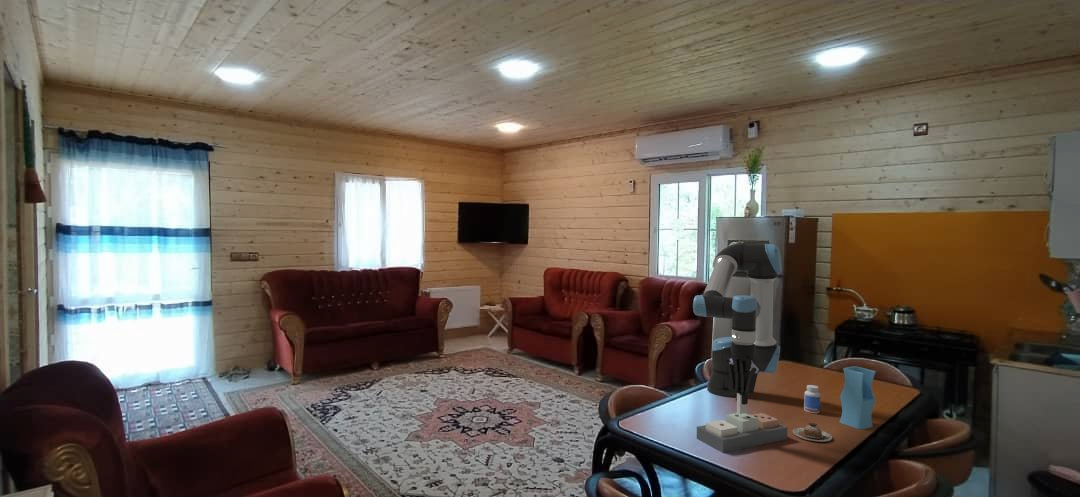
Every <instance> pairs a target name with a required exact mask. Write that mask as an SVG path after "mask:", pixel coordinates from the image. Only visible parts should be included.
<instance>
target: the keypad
mask: <svg viewBox="0 0 1080 497" xmlns="http://www.w3.org/2000/svg"><path fill="white" fill-rule="evenodd" d="M725 421H726V422H727V420H725ZM696 439H697V440H699V441H701V442H702V443H704V444H706V445H708V446H709V447H712V448H713V449H715V450H717V451H719V452H721V453H728V452H732V451H737V450H742V449H747V448H751V447H757V446H761V445H765V444H770V443H774V442H780V441H786V440H788V426H786V425H783V424H782V423H778V426H775V427H770V428H765V429H762V428H760V427H758V430H755V431H750V432H744V433H742V432H739V431H738V434H734V435H729V436H724V437H720V436H718V435H716V434H714V433H712V432H710V431H708V430H706V424H704V425H699V426H696Z"/></svg>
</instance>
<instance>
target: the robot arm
mask: <svg viewBox="0 0 1080 497" xmlns="http://www.w3.org/2000/svg"><path fill="white" fill-rule="evenodd" d="M782 271H783V266H782V255H781V251H780V247H779V246H778V245H776V244H774V243H773V244H770V243H741V242H740V243H734V244H731V245H728V246H726V247H725V248H723V249H722V250H721V251H720V252H718V253H717V254H716V256H715V257H714V260H713V261H712V271H711V274H710V276H709V279H708V281H707V285H706V287H705V289H704V292H703V294H700V295H699V294H697V295H695V296H694V298H693V303H692V309H693V310H692V311H693V313H694V315H695V316H698V317H704V318H719V319H729V320H731V336H725V337H719V338H718V337H717V338H715V339H714V340H712V341H713V342H712V347H711V351H712V352H711V361H712V362H711V374H710V377H709V380H708V382H707V386H706V387H707V388H706V389H707V391H708V392H709V393H711V394H712V395H713V394H714V395H718V396H722V397H728V398H729V397H734V398H735V402H736V413H738V414H744V413H746V414H747V405H748V402H749V400H748V398H749V395H752V394H754V391H755V387H756V382H757V379H758V375H759V373H763V374H775V372H776V371H777V368H778V363H779V359H780V352H781V346H780V345H778V344H777V340H776V339H775V338H774V337H773V334H774V333H773V332H774V329H773V328H774V327H773V326H774V325H773V324H774V282H775V280H777V279H778V275H780V274H782ZM736 272H742V273H743V272H744V273H746V278H748V279H749V281H750V295H743V294H741V295H739V294H738V295H734V296H732V297H730V296H729V297H727V293H728V290H729V286H730V284H731V281H732V278H733V275H734V274H736Z"/></svg>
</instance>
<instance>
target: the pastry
mask: <svg viewBox="0 0 1080 497" xmlns="http://www.w3.org/2000/svg"><path fill="white" fill-rule="evenodd" d="M801 433H802V435H804V436H801V435H800V434H801ZM792 434H794V436H796V437H797V438H799V439H802V440H804V441H811V442H819V443H820V442H823V443H824V442H830V441H832V440H833V436H832V435H831V434H829V433H828V432H826V431H823V430H822V428H820V427H819V426H818V424H817V423H815V422H808V424H807V425H806V426H805V427H796V428H793V430H792ZM823 438H824V439H823ZM819 439H820V440H819Z"/></svg>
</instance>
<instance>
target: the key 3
mask: <svg viewBox="0 0 1080 497" xmlns="http://www.w3.org/2000/svg"><path fill="white" fill-rule="evenodd" d="M750 415H751V416H753V417H756V418H758V419H759V425H758V427H760V428H762V429H765V428H770V427H775V426H778V424H779V418H776V417H773V416H770V415H768V414H766V413H764V412H759V413H753V414H750Z"/></svg>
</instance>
